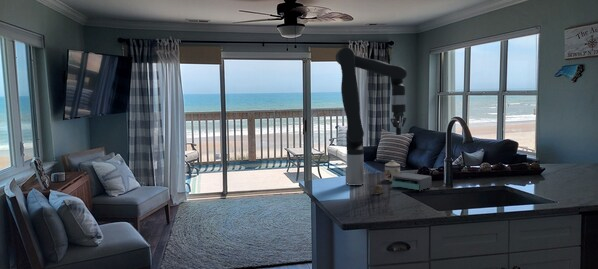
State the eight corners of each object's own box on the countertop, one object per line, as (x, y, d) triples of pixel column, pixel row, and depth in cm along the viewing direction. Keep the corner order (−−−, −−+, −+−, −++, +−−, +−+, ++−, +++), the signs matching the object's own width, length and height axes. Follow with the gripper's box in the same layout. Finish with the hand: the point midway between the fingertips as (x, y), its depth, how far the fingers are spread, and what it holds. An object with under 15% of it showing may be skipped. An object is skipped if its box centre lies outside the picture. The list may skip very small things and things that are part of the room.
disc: (401, 184, 221) (401, 181, 221) (408, 182, 225) (408, 179, 225) (412, 186, 216) (412, 182, 216) (418, 184, 221) (418, 180, 220)
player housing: (392, 186, 224) (392, 175, 223) (404, 183, 232) (404, 172, 232) (420, 191, 212) (420, 179, 212) (431, 187, 221) (431, 176, 220)
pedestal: (372, 193, 209) (372, 185, 209) (377, 192, 212) (377, 184, 211) (379, 194, 206) (379, 187, 206) (383, 193, 209) (383, 185, 209)
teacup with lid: (381, 179, 245) (381, 159, 244) (395, 178, 248) (394, 158, 247) (392, 183, 233) (392, 162, 232) (406, 181, 236) (406, 161, 235)
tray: (392, 185, 222) (392, 181, 222) (404, 182, 231) (404, 177, 230) (417, 189, 212) (417, 184, 211) (429, 186, 220) (429, 181, 220)
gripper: (399, 103, 238) (399, 133, 240) (386, 104, 229) (386, 135, 231) (410, 103, 233) (410, 134, 235) (397, 104, 224) (397, 136, 225)
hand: (398, 134), depth 233 cm, fingers closed
